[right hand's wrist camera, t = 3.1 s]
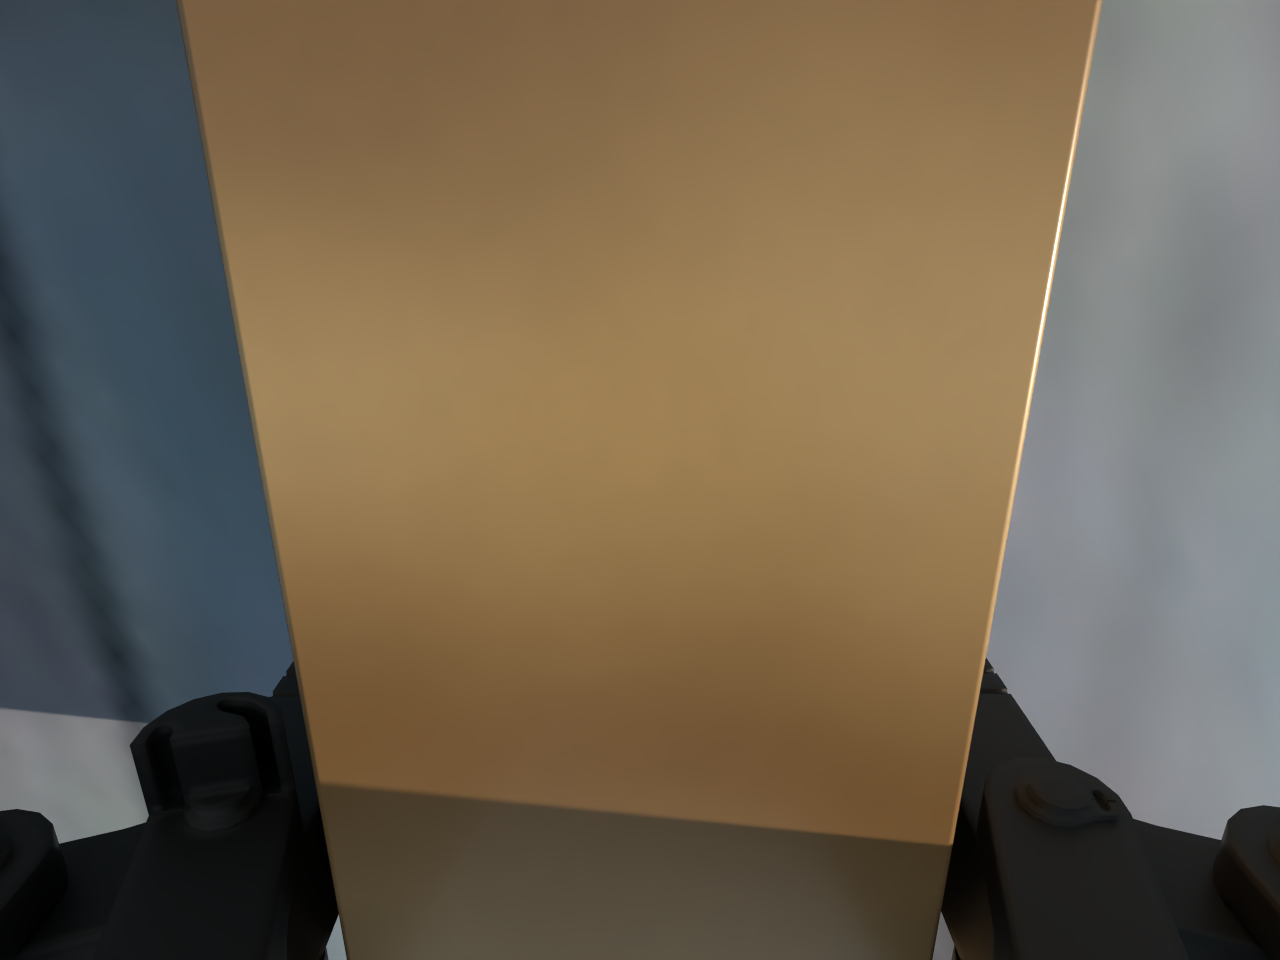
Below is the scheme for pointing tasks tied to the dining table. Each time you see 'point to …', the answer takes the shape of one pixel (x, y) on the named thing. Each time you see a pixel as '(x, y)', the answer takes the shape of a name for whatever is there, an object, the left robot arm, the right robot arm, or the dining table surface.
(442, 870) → the post
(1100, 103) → the dining table surface
